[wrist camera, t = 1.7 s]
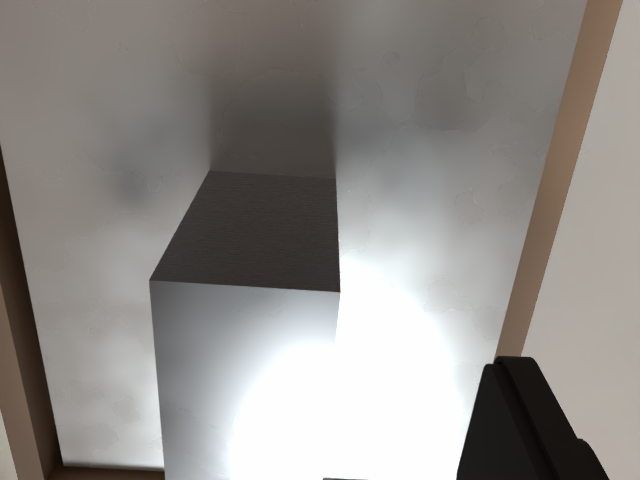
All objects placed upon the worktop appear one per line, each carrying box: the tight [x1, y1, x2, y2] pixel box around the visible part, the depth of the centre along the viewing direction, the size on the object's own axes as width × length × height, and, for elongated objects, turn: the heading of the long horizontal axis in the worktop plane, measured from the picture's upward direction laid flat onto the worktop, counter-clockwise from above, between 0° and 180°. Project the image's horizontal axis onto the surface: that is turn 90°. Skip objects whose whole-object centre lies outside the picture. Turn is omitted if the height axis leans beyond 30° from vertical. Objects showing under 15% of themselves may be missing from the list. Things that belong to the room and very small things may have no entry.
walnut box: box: [0, 0, 623, 480], centre depth 17 cm, size 15×18×8 cm
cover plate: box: [0, 0, 587, 480], centre depth 13 cm, size 13×15×6 cm
